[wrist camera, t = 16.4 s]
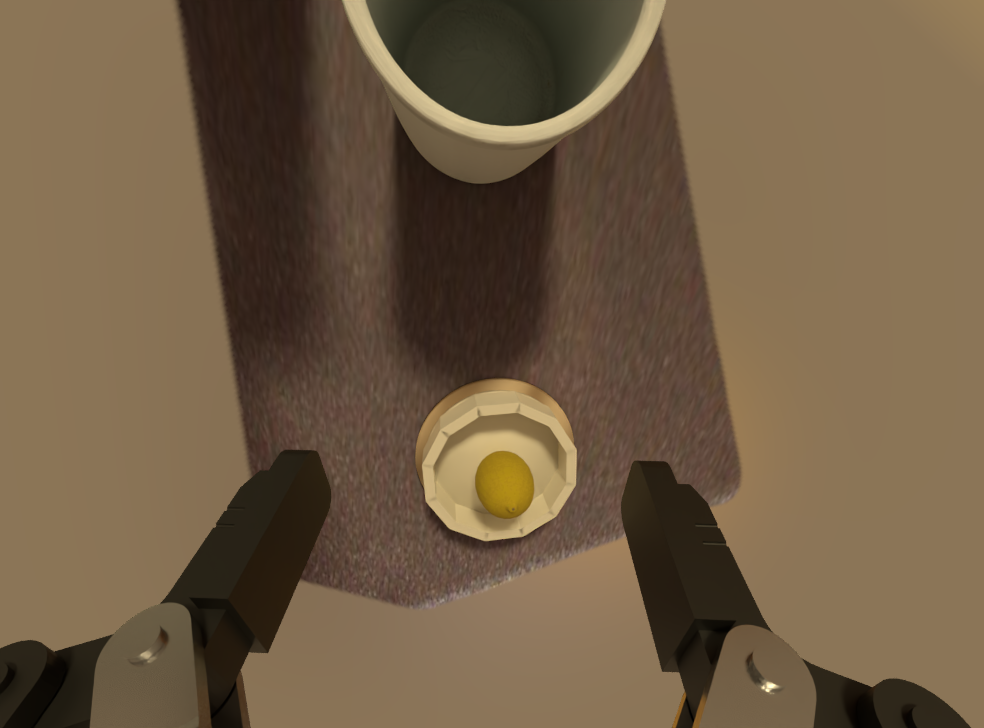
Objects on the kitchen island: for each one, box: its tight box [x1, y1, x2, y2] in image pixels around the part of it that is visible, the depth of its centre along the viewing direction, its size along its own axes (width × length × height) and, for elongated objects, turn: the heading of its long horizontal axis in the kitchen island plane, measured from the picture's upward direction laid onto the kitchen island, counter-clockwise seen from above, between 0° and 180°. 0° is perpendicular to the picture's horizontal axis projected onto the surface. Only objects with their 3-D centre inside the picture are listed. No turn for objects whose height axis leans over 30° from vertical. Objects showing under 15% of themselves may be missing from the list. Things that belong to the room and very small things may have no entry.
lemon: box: [475, 451, 534, 519], centre depth 38 cm, size 6×6×8 cm
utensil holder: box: [342, 0, 666, 184], centre depth 25 cm, size 15×15×18 cm
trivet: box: [415, 378, 574, 487], centre depth 43 cm, size 17×17×1 cm
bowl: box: [422, 390, 577, 541], centre depth 41 cm, size 15×15×4 cm
